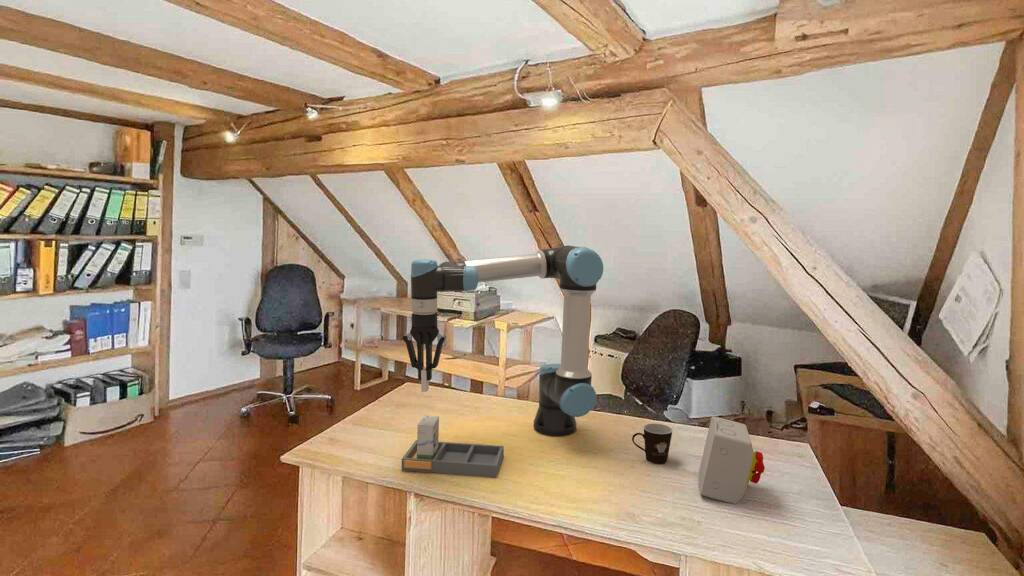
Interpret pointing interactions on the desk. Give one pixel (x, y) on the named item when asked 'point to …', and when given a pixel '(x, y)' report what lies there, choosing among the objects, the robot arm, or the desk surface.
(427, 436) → the ink box
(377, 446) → the desk surface
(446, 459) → the tray
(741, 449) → the electrical switch box
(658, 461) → the coffee mug
